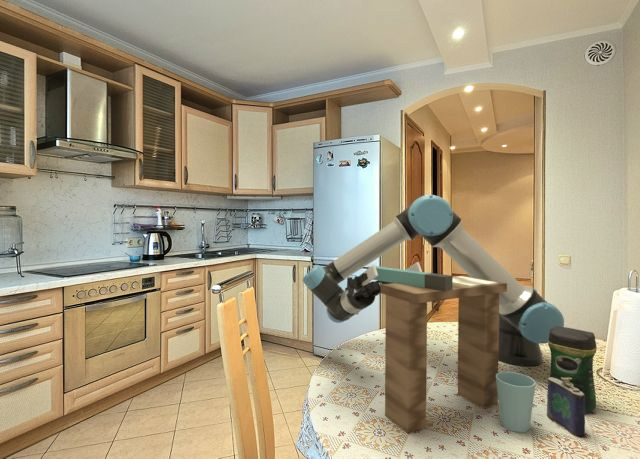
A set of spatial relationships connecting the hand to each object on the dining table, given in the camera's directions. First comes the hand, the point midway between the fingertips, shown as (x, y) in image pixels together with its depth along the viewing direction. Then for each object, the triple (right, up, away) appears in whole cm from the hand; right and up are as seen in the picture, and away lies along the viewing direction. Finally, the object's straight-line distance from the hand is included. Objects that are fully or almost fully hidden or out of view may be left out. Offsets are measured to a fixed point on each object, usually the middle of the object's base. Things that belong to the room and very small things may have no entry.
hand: (398, 268), depth 90 cm
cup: (+23, -34, -10) cm, 42 cm away
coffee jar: (+42, -33, -1) cm, 54 cm away
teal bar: (+1, -3, -4) cm, 5 cm away
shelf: (+10, -33, -3) cm, 35 cm away
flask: (+35, -34, -10) cm, 49 cm away
